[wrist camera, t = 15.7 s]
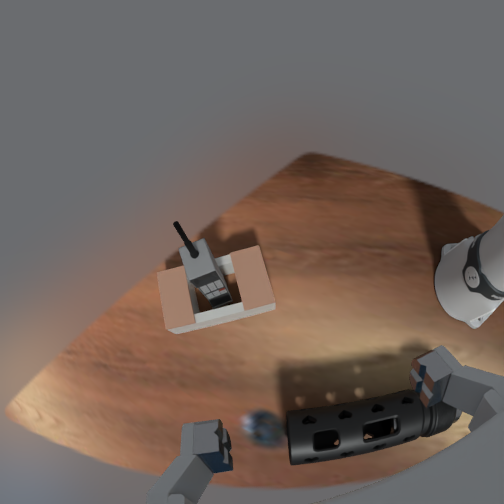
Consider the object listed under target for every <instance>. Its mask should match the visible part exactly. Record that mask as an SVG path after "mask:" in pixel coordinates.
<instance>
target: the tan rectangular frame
mask: <svg viewBox="0 0 504 504" xmlns="http://www.w3.org/2000/svg"><path fill="white" fill-rule="evenodd" d="M215 261H216V263H217V265H218V267H219V269H220V271H221V273H222V275H223V276H224V275H228V274H232V273H235V276H236V280H237V284H238V288H239V292H240V296H241V299H242V302H240V303H236V304H233V305H229V306H225V307H221V308H217V309H213V310H209V311H205V312H201V313H200V311H199V306H198V302H197V297H196V292H195V287H194V285H192V284H191V283H190V282H189V280H188V277H187V274H186V271H185V268H184V265H183V266H179V267H176V268H172V269H168V270H165V271H161V272H157V277H158V284H159V291H160V297H161V304H162V310H163V316H164V321H165V327H166V329H167V330H169V331H171V332H173V333H175V334H180V333H184V332H188V331H193V330H197V329H201V328H205V327H209V326H214V325H218V324H222V323H226V322H230V321H233V320H237V319H241V318H245V317H249V316H253V315H256V314H260V313H264V312H267V311H271V310H274V309H275V298H274V295H273V291H272V288H271V285H270V281H269V278H268V275H267V271H266V268H265V264H264V261H263V258H262V254H261V251H260V248H259V245H257V246H254V247H250V248H246V249H242V250H239V251H235V252H231V253H230V254H229V255H226V256H222V257H218V258H215Z"/></svg>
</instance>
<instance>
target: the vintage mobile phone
mask: <svg viewBox="0 0 504 504" xmlns="http://www.w3.org/2000/svg"><path fill="white" fill-rule="evenodd" d="M173 225H174V227H175V228H176V230H177V232H178V233H179V235H180V236H181V238H182V240H183V241H184V243H185V246H183V247H180V248H179V252H180V255H181V258H182V262H183V265H184V268H185V271H186V274H187V277H188V280H189V282H190V283H191V284H192V285H194V286H195V287H196V288H198V289H199V290H200V291H201V292H202V293H203V295H204V296H205V297H206V298H207V299H208V301H209V303H210V304H211V306H212V308H213V309H215V308H218V307H221V306H223V305H226V304H228V303H231V302H233V300H232V297H231V295H230V292H229V289H228V287H227V284H226V282H225V279H224V277H223V275H222V273H221V271H220V269H219V267H218V265H217V263H216V261H215V259H214V257H213V255H212V253H211V251H210V248H209V246H208V244H207V242H206V240H205V238H203V239H200V240H198V241H195V242H193V243H191V241H190V240H189V239H188V238H187V236H186V234H185V233H184V231H183V229H182V228H181V226H180V224H179V223H178V222H177V221H176V222H174V223H173Z"/></svg>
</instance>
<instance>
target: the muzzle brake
mask: <svg viewBox="0 0 504 504" xmlns="http://www.w3.org/2000/svg"><path fill="white" fill-rule="evenodd" d="M461 414H462V411H461V410H459V409H457V408H455V407H453V406H451V405H449V404H447V403H445V402H443V400H442V401H440V402H438V403H436V404H434V405H432V406H430V407H428V408H426V407H425V405H424V404H423V402H422V401H421V399H420V393H418V392H416V391H414V390H404V391H400V392H397V393H392V394H388V395H383V396H379V397H374V398H370V399H365V400H360V401H354V402H349V403H343V404H337V405H331V406H324V407H317V408H309V409H301V410H292V411H287V413H286V417H287V435H288V449H289V459H290V465H300V464H308V463H316V462H323V461H329V460H335V459H341V458H346V457H351V456H356V455H361V454H365V453H369V452H374V451H378V450H382V449H385V448H389V447H393V446H396V445H400V444H403V443H406V442H410V441H413V440H416V439H417V438H418V437H419V436H421V437H430V436H432V435H435V434H438V433H440V432H443V431H446V430H447V429H448V428H449V427H450V426H451V425H452V424H453V423H455V422H456V421H457V420H458V419H459V418H460V416H461ZM366 434H368V435H370V436H372V438H368V439H364V438H363V437H364V436H365V435H366ZM337 440H339V444H338V445H334V443H335V442H336V441H337Z"/></svg>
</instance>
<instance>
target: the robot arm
mask: <svg viewBox="0 0 504 504" xmlns="http://www.w3.org/2000/svg"><path fill="white" fill-rule="evenodd" d="M435 289H436V294H437V297H438V300H439V302H440V304H441V305H442V307H443V308H444V310H445V311H446V312H447V313H448V314H449V315H450V316H452V317H453V318H455V319H457V320H461V321H464V322H466V323H467V324H468V325H469V326H470V327H471V328H473V329H476V328H478V327H479V326H480V325H481V324H482V323H483V322H484V321H485V320H486V319H487V318H488V317H489V316H490V315H491V314H492V313H493V312H494V310H495V309H496V308H497V307H498V306H499V305H500V304H501V303H502V302H503V300H504V215H503V216H502V218H501V219H500V220H499V221H498V222H497V223H496V224H495V225H494V226H493V227H492V228H491V229H490V230H488V231H485V232H484V233H482V234H479V235H477V236H476V237H475V239H474V237H473V236H471V237H469V238H468V239H467V238H466V239H464V240H462V241H461V242H460V243H454V244H446V245H444V246H443V247H442V252H441V260H440V263H439V265H438V267H437V269H436V273H435ZM478 318H479V320H478ZM411 366H412V367H413V369H412V370H411V372H410V377H409V378H410V383H411V385H412V388H413V389H414V391H416V392H418V393H420V399H421V401H422V402H423V404H424V405H425V407H426V408H428V407H430V406H432V405H434V404H436V403H438V402H440V401H442V400H443V402H445V403H447V404H449V405H451V406H453V407H455V408H457V409H459V410H461V411H463V412H465V413H467V414H470V415H472V416H473V418H472V420H471V422H470V424H469V426H468V428H469V429H470V431H471V433H469V434H468V435H466V436H465V437H463V438H462V439H460V440H459V441H457V442H455V443H454V444H452V445H450V446H449V447H447V448H445V449H444V450H442V451H440V452H438V453H437V454H435V455H433V456H431V457H429V458H428V459H426V460H424V461H422V462H420V463H418V464H416V465H414V466H412V467H410V468H408V469H406V470H404V471H401V472H399V473H397V474H395V475H393V476H390V477H388V478H386V479H383V480H381V481H378V482H376V483H373V484H371V485H368V486H366V487H363V488H360V489H357V490H355V491H352V492H349V493H346V494H343V495H340V496H337V497H333V498H330V499H327V500H323V501H319V502H316V503H312V504H504V377H503V376H500V375H496V374H493V373H489V372H486V371H482V370H479V369H476V368H472V367H469V366H466V365H465V366H462V365H461V364H460V363H459V362H458V361H457V360H456V359H455V358H454V356H453V355H452V354H451V353H450V352H449V351H448V350H447V349H446V348H445V347H444V346H442V345H441V346H439V347H437V348H435V349H433V350H430V351H429V352H427V353H425V354H423V355H420V356H418V357H416V358H414V359H413V360H412V364H411ZM231 449H232V448H231V441H230V436H229V434H228V432H227V430H226V429H225V428H223V423H222V421H221V420H220V419H217V420H210V421H202V422H194V423H186V424H183V426H182V435H181V450H180V456H177V457H176V458H175V459H174V461H173V462H172V463H171V464H170V466H169V467H168V468H167V469H166V471H165V472H164V473H163V474H162V476H161V477H160V478H159V479H158V481H157V482H156V483H155V484H154V485H153V487H152V488H151V489H150V490H149V491H148V493H147V499H146V504H197V503H198V501H199V499H200V497H201V496H202V494H203V492H204V491H205V489H206V487H207V485H208V484H209V482H210V480H211V478H212V477H213V475H214V474H213V473H220V472H226V471H232V470H233V460H232V456H231V455H230V453H229V452H230V450H231Z"/></svg>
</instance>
